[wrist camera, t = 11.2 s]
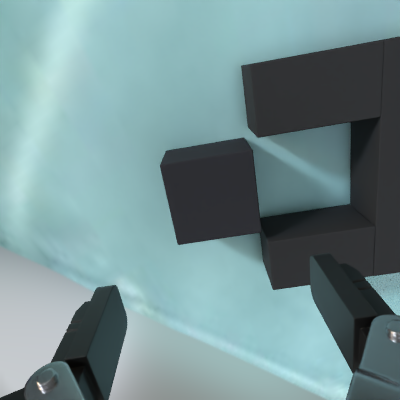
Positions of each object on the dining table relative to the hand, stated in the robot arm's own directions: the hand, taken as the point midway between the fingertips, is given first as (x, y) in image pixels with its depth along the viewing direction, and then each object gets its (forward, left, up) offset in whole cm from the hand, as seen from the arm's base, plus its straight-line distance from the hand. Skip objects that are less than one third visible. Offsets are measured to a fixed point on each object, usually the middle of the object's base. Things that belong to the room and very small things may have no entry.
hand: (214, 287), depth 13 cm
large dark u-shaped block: (+9, 0, -13) cm, 16 cm away
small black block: (0, 0, -13) cm, 13 cm away
